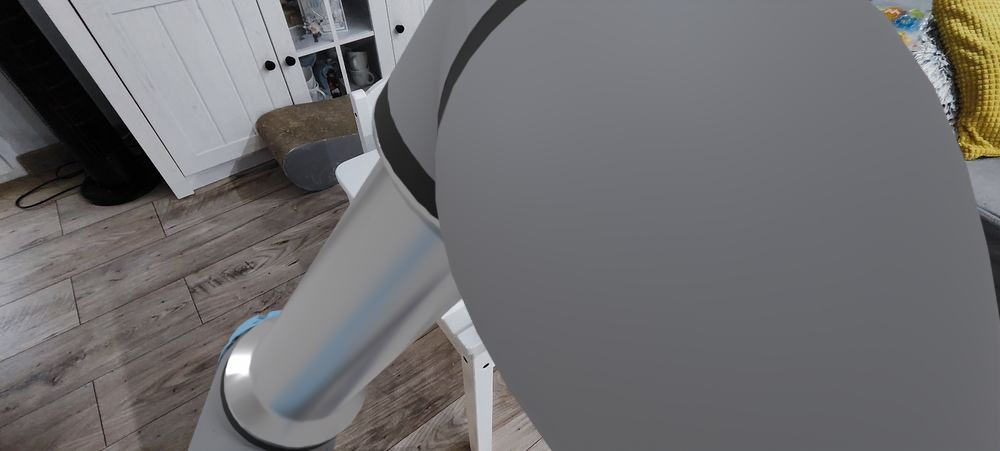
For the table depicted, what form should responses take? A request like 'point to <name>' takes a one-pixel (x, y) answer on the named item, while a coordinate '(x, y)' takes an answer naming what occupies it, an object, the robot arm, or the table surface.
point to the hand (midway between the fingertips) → (516, 253)
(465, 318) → the table surface
